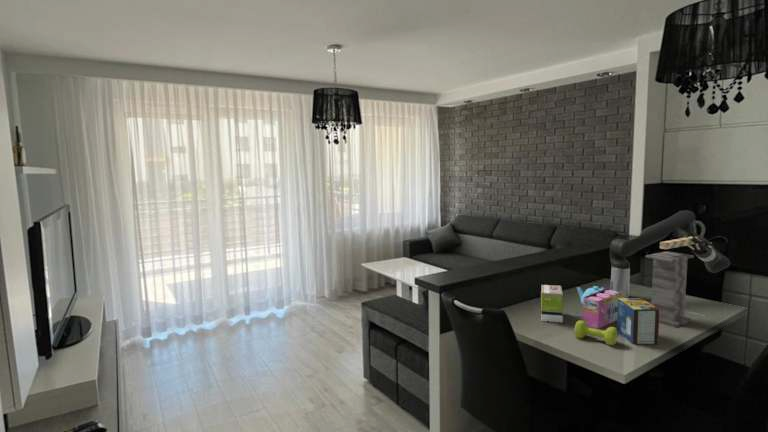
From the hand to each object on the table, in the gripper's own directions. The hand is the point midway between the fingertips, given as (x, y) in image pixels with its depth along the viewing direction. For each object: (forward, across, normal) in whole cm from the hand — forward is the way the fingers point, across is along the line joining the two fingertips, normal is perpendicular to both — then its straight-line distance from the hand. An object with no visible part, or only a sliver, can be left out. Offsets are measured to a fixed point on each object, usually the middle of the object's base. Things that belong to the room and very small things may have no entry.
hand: (688, 237), depth 208 cm
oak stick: (+5, 0, +7) cm, 9 cm away
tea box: (+31, -31, +63) cm, 77 cm away
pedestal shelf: (-6, 0, +41) cm, 42 cm away
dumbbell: (+37, -2, +67) cm, 76 cm away
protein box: (+22, +5, +58) cm, 62 cm away
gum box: (+18, -15, +55) cm, 60 cm away
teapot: (+2, -31, +46) cm, 56 cm away
